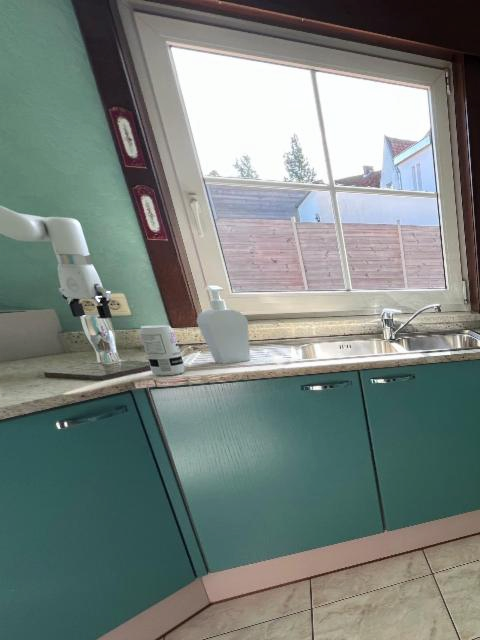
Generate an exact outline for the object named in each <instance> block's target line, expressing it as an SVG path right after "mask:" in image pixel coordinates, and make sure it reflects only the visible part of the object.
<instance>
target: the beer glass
mask: <svg viewBox="0 0 480 640" xmlns="http://www.w3.org/2000/svg"><path fill="white" fill-rule="evenodd" d="M79 318H80V322H81V324H82V329H83V332H84V333H85V336H86V337H87V339H88V341H89V343H90V345H91V346H92V348H93V350H94V352H95V356H96V362H98V363H114V362H119V361H122V360H123V359H122V357H121V355H120V354H119V350H118V349H117V341H116V333H115V329H114V326H113V323H112V321H111V318H104V319H101V318H100V317H99V313H97V314H85V315H82V316H79Z"/></svg>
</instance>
